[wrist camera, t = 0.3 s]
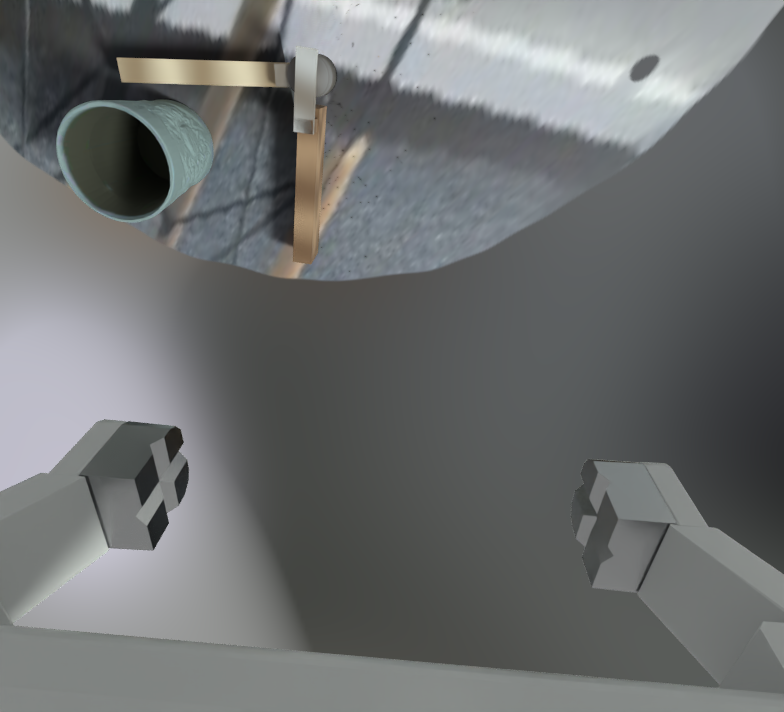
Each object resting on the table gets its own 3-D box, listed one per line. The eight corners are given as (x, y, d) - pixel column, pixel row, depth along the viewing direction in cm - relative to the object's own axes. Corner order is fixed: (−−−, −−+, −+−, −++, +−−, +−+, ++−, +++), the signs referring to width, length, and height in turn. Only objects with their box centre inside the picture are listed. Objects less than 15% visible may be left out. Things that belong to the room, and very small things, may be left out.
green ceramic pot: (234, 126, 53) (187, 141, 42) (204, 211, 57) (155, 243, 47) (139, 72, 51) (66, 74, 40) (116, 165, 55) (45, 188, 45)
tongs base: (336, 54, 49) (326, 53, 44) (337, 96, 51) (328, 99, 46) (136, 48, 50) (104, 46, 45) (144, 90, 52) (114, 92, 47)
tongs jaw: (309, 47, 49) (294, 45, 43) (329, 50, 49) (318, 49, 43) (300, 249, 59) (288, 268, 53) (317, 252, 59) (307, 271, 53)
